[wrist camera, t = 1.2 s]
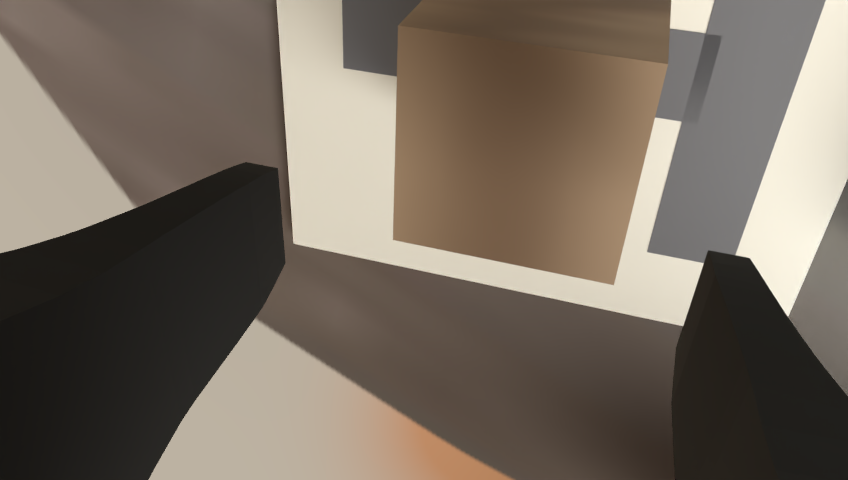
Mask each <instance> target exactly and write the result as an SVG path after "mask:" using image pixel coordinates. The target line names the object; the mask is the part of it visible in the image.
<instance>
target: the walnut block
mask: <svg viewBox="0 0 848 480" xmlns="http://www.w3.org/2000/svg"><path fill="white" fill-rule="evenodd" d="M670 16H671V0H422V1H421V2H420V3H419V4H418V5H417V6H416V7H415V8H414V9H413V10H412V11H411V12H410V14H409V15H408V16H407V17H406V18H405V19H404V20H403V21H402V22H401V23H400V24H399V25H398V51H397V91H396V132H395V173H394V213H393V240H396V241H400V242H405V243H410V244H415V245H420V246H425V247H430V248H435V249H439V250H444V251H449V252H454V253H459V254H464V255H469V256H474V257H479V258H483V259H488V260H493V261H498V262H503V263H508V264H513V265H518V266H523V267H527V268H532V269H537V270H542V271H547V272H552V273H557V274H562V275H566V276H571V277H576V278H581V279H586V280H591V281H596V282H601V283H606V284H610V285H614V283H615V279H616V275H617V271H618V266H619V262H620V258H621V254H622V250H623V246H624V242H625V238H626V234H627V230H628V226H629V222H630V217H631V213H632V209H633V205H634V201H635V197H636V193H637V189H638V185H639V181H640V177H641V173H642V169H643V164H644V160H645V156H646V152H647V148H648V144H649V140H650V136H651V132H652V128H653V124H654V120H655V116H656V111H657V107H658V103H659V99H660V95H661V91H662V87H663V83H664V79H665V75H666V71H667V67H668V56H669V36H670Z"/></svg>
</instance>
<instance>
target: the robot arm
mask: <svg viewBox="0 0 848 480" xmlns="http://www.w3.org/2000/svg"><path fill="white" fill-rule="evenodd" d="M284 265H285V253H284V240H283V228H282V215H281V203H280V190H279V178H278V168H273V167H268V166H263V165H258V164H252V163H247V162H245V163H242V164H239V165H236V166H233V167H231V168H228V169H226V170H223V171H221V172H218V173H216V174H213V175H211V176H209V177H207V178H204V179H202V180H200V181H197V182H195V183H193V184H191V185H188V186H186V187H184V188H181V189H179V190H177V191H175V192H172V193H170V194H168V195H165V196H163V197H161V198H159V199H156V200H154V201H152V202H149V203H147V204H145V205H142V206H140V207H137V208H135V209H132V210H130V211H127V212H125V213H122V214H120V215H117V216H115V217H112V218H109V219H107V220H104V221H102V222H99V223H97V224H94V225H92V226H89V227H86V228H83V229H81V230H78V231H75V232H72V233H69V234H66V235H63V236H60V237H57V238H53V239H50V240H47V241H44V242H40V243H37V244H34V245H30V246H27V247H23V248H20V249H17V250H12V251H8V252H4V253H0V480H148V479H149V478H150V476H151V473H152V472H153V470H154V468H155V466H156V464H157V463H158V461H159V459H160V458H161V456H162V454H163V452H164V451H165V449H166V447H167V445H168V444H169V442H170V440H171V438H172V437H173V435H174V433H175V431H176V430H177V428H178V426H179V424H180V423H181V421H182V419H183V418H184V416H185V414H186V413H187V412H188V410H189V408H190V407H191V406H192V404H193V403H194V401H195V400H196V398H197V397H198V396H199V394H200V393H201V392H202V390H203V389H204V388H205V386H206V385H207V384H208V382H209V381H210V379H211V378H212V377H213V375H214V374H215V373H216V371H217V370H218V368H219V367H220V366H221V364H222V363H223V361H224V360H225V359H226V358H227V356H228V355H229V353H230V352H231V351H232V349H233V348H234V346H235V345H236V344H237V343H238V341H239V340H240V338H241V337H242V336H243V334H244V333H245V331H246V330H247V328H248V327H249V326H250V324H251V323H252V322H253V320H254V319H255V317H256V316H257V314H258V313H259V312H260V310H261V309H262V307H263V305H264V303H265V302H266V300H267V298H268V296H269V294H270V292H271V291H272V289H273V287H274V285H275V283H276V281H277V279H278V277H279V275H280V273H281V271H282V269H283V267H284ZM672 427H673V448H674V468H675V480H848V396H847V395H846V394H845V393H844V391H843V390H842V389H841V388H840V386H839V385H838V384H837V383H836V382H835V380H834V379H833V378H832V377H831V375H830V374H829V373H828V372H827V370H826V369H825V368H824V367H823V365H822V364H821V363H820V361H819V360H818V359H817V357H816V356H815V355H814V354H813V352H812V351H811V349H810V348H809V347H808V345H807V344H806V342H805V341H804V340H803V338H802V337H801V335H800V334H799V332H798V331H797V330H796V328H795V327H794V325H793V324H792V322H791V321H790V319H789V318H788V316H787V315H786V313H785V312H784V310H783V309H782V307H781V306H780V304H779V303H778V301H777V299H776V298H775V296H774V295H773V293H772V292H771V290H770V289H769V287H768V285H767V284H766V282H765V281H764V279H763V277H762V276H761V274H760V273H759V271H758V270H757V268H756V267H755V265H754V264H753V262H752V261H751V259H750V258H747V257H742V256H737V255H732V254H726V253H721V252H716V251H711V250H708V252H707V255H706V258H705V261H704V264H703V267H702V270H701V273H700V277H699V280H698V283H697V286H696V289H695V292H694V295H693V298H692V301H691V304H690V307H689V310H688V313H687V316H686V319H685V322H684V326H683V329H682V332H681V335H680V338H679V341H678V344H677V347H676V356H675V366H674V377H673V390H672Z"/></svg>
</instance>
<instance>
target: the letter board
mask: <svg viewBox="0 0 848 480" xmlns="http://www.w3.org/2000/svg"><path fill="white" fill-rule="evenodd" d="M276 1H277V15H278V29H279V43H280V58H281V72H282V86H283V101H284V115H285V129H286V143H287V158H288V172H289V186H290V201H291V215H292V229H293V244H297V245H302V246H307V247H312V248H316V249H321V250H326V251H330V252H335V253H340V254H345V255H349V256H354V257H359V258H363V259H368V260H373V261H378V262H382V263H387V264H392V265H397V266H401V267H406V268H411V269H415V270H420V271H425V272H430V273H434V274H439V275H444V276H448V277H453V278H458V279H463V280H467V281H472V282H477V283H482V284H486V285H491V286H496V287H500V288H505V289H510V290H515V291H519V292H524V293H529V294H533V295H538V296H543V297H548V298H552V299H557V300H562V301H566V302H571V303H576V304H581V305H585V306H590V307H595V308H600V309H604V310H609V311H614V312H618V313H623V314H628V315H633V316H637V317H642V318H647V319H651V320H656V321H661V322H666V323H670V324H675V325H680V326H684V322H685V319H686V316H687V313H688V310H689V307H690V304H691V301H692V298H693V295H694V292H695V289H696V286H697V283H698V280H699V277H700V273H701V270H702V267H703V264H704V261H705V258H706V255H707V252H708V250H711V251H716V252H721V253H726V254H732V255H737V256H742V257H747V258H750V259H751V261H752V262H753V264H754V265H755V267H756V268H757V270H758V271H759V273H760V274H761V276H762V277H763V279H764V281H765V282H766V284H767V285H768V287H769V289H770V290H771V292H772V293H773V295H774V296H775V298H776V299H777V301H778V303H779V304H780V306H781V307H782V309H783V310H784V312H785V313H786V315H787V316H789V314H790V311H791V309H792V307H793V304H794V302H795V300H796V297H797V295H798V293H799V291H800V288H801V286H802V284H803V281H804V279H805V277H806V274H807V272H808V270H809V267H810V265H811V263H812V260H813V258H814V256H815V253H816V251H817V249H818V247H819V244H820V242H821V240H822V237H823V235H824V233H825V230H826V228H827V226H828V223H829V221H830V219H831V216H832V214H833V212H834V209H835V207H836V205H837V203H838V200H839V198H840V196H841V193H842V191H843V189H844V186H845V184H846V182H847V179H848V0H671V16H670V36H669V56H668V67H667V71H666V75H665V79H664V83H663V87H662V91H661V95H660V99H659V103H658V107H657V111H656V116H655V120H654V124H653V128H652V132H651V136H650V140H649V144H648V148H647V152H646V156H645V160H644V164H643V169H642V173H641V177H640V181H639V185H638V189H637V193H636V197H635V201H634V205H633V209H632V213H631V217H630V222H629V226H628V230H627V234H626V238H625V242H624V246H623V250H622V254H621V258H620V262H619V266H618V271H617V275H616V279H615V283H614V285H610V284H606V283H601V282H596V281H591V280H586V279H581V278H576V277H571V276H566V275H562V274H557V273H552V272H547V271H542V270H537V269H532V268H527V267H523V266H518V265H513V264H508V263H503V262H498V261H493V260H488V259H483V258H479V257H474V256H469V255H464V254H459V253H454V252H449V251H444V250H439V249H435V248H430V247H425V246H420V245H415V244H410V243H405V242H400V241H396V240H393V213H394V173H395V132H396V91H397V51H398V25H399V24H400V23H401V22H402V21H403V20H404V19H405V18H406V17H407V16H408V15H409V14H410V12H411V11H412V10H413V9H414V8H415V7H416V6H417V5H418V4H419V3H420V2H421V1H422V0H276Z"/></svg>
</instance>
